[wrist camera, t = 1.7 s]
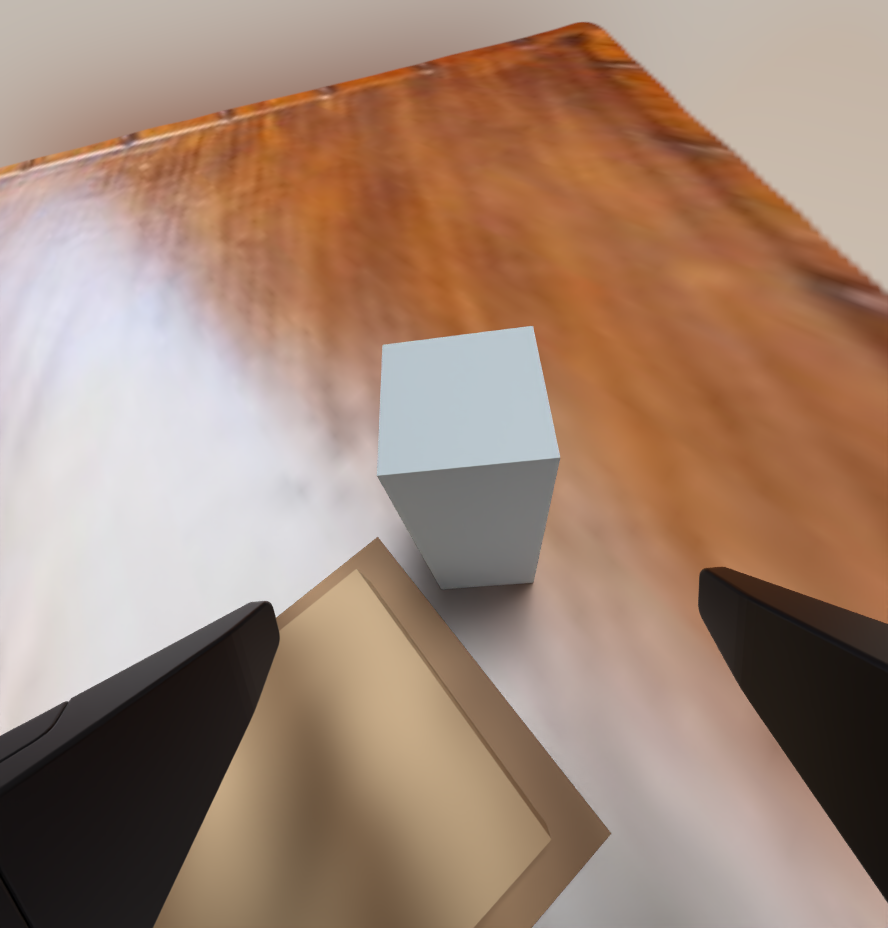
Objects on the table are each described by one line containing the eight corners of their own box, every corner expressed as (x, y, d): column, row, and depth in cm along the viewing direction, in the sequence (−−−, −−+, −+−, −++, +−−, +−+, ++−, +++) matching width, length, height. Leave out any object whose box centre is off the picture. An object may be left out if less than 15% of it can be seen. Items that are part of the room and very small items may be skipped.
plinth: (281, 1189, 13) (197, 1369, 9) (139, 750, 19) (58, 761, 16) (599, 819, 16) (625, 851, 12) (387, 550, 22) (365, 521, 19)
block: (533, 582, 20) (560, 457, 10) (441, 589, 21) (377, 475, 11) (521, 498, 23) (533, 325, 12) (437, 506, 23) (382, 345, 13)
